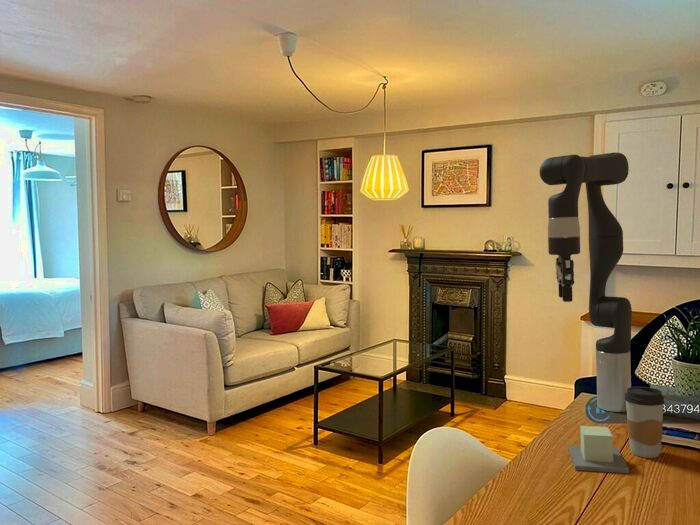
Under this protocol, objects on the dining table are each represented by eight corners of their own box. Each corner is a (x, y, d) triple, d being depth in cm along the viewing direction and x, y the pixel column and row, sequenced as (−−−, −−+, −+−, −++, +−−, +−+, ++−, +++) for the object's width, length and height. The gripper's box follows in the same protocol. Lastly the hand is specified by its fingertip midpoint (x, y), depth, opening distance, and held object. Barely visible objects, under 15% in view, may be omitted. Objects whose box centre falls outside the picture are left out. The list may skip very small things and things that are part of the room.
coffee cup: (655, 446, 134) (654, 385, 134) (672, 460, 126) (671, 395, 125) (620, 446, 135) (618, 386, 134) (634, 460, 127) (632, 396, 126)
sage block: (580, 450, 131) (580, 425, 131) (608, 452, 130) (607, 427, 129) (584, 460, 125) (584, 434, 125) (613, 462, 124) (612, 436, 124)
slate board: (568, 449, 135) (568, 445, 135) (617, 452, 132) (617, 447, 132) (575, 470, 123) (575, 465, 123) (629, 473, 120) (628, 468, 120)
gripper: (545, 236, 147) (547, 296, 147) (550, 236, 133) (552, 303, 134) (575, 234, 145) (577, 296, 145) (584, 235, 131) (585, 302, 132)
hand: (565, 299), depth 140 cm, fingers open, 8 cm apart
